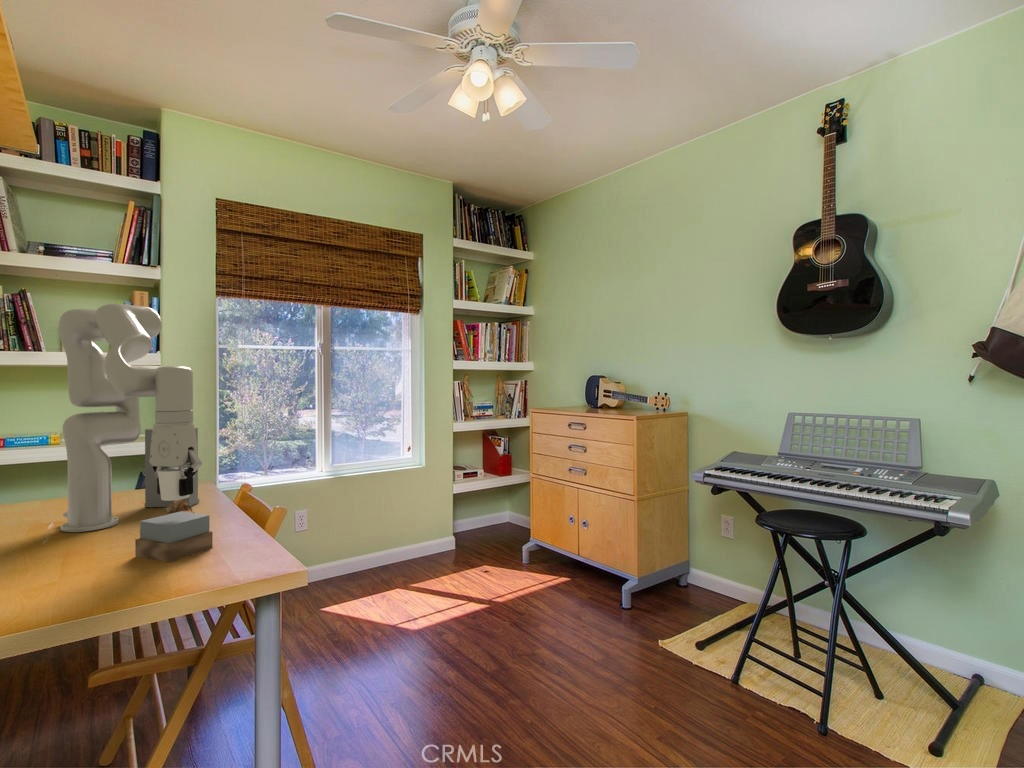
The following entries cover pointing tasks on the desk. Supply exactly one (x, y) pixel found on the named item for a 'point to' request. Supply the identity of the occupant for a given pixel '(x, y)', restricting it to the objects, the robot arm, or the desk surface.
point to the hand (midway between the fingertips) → (175, 493)
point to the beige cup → (170, 484)
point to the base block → (172, 547)
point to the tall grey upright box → (151, 480)
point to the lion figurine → (179, 507)
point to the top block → (174, 527)
